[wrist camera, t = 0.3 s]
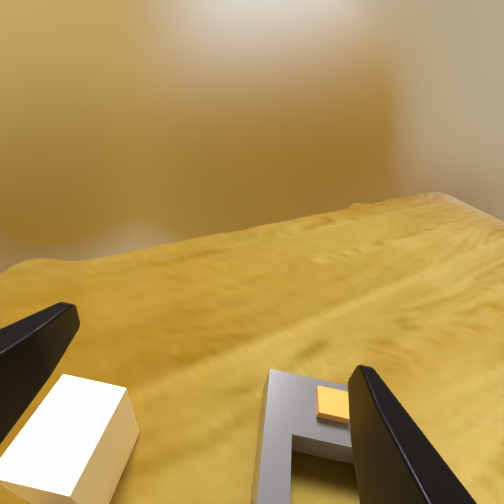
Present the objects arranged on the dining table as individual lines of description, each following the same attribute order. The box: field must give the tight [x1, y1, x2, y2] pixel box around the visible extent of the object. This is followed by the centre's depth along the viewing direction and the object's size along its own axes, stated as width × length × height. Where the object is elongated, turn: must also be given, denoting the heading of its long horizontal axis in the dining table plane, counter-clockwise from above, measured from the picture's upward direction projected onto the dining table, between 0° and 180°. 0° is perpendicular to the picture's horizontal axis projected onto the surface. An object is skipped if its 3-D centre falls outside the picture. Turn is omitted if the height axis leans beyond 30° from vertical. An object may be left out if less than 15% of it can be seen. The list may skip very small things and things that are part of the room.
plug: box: [0, 374, 140, 504], centre depth 16 cm, size 5×4×7 cm
